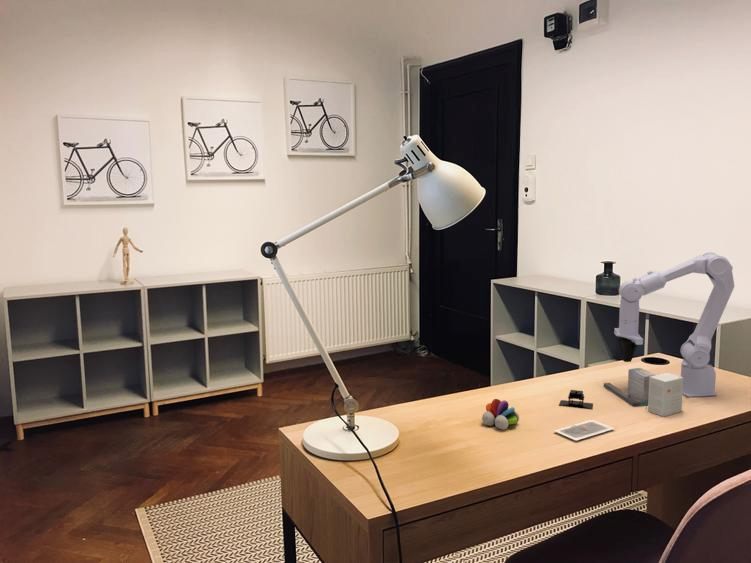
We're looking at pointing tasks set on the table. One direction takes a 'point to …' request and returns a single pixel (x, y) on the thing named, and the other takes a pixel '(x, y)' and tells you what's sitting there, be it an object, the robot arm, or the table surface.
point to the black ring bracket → (576, 404)
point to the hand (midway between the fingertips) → (627, 361)
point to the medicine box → (639, 383)
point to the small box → (665, 394)
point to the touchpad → (584, 429)
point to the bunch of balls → (500, 414)
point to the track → (625, 396)
